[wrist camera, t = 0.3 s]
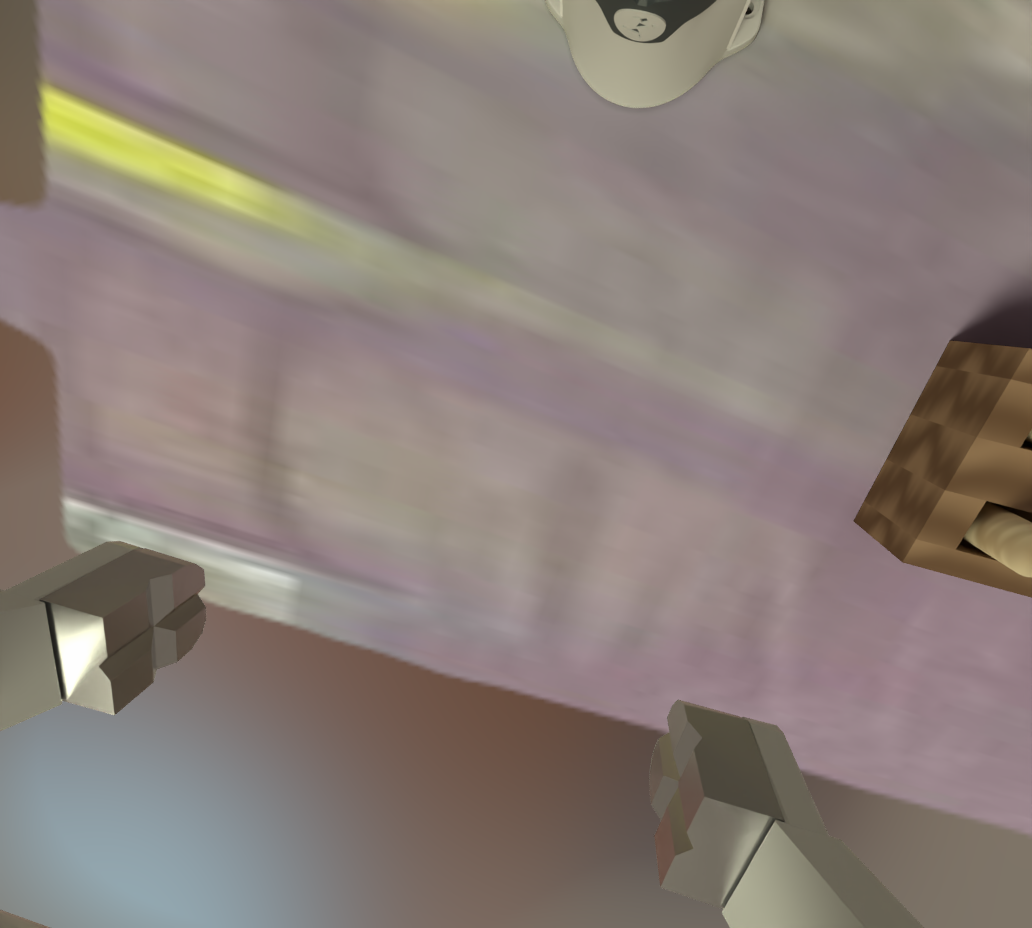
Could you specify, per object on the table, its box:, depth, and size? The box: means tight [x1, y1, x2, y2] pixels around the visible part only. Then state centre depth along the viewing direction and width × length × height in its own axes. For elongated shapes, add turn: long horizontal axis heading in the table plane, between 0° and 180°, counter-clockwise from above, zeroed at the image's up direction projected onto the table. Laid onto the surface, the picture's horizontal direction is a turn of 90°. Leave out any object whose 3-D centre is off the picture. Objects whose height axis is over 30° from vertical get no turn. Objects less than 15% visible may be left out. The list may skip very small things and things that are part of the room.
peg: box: [963, 501, 1032, 577], centre depth 42 cm, size 4×4×8 cm
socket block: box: [854, 341, 1032, 597], centre depth 45 cm, size 20×12×9 cm, turn 167°
